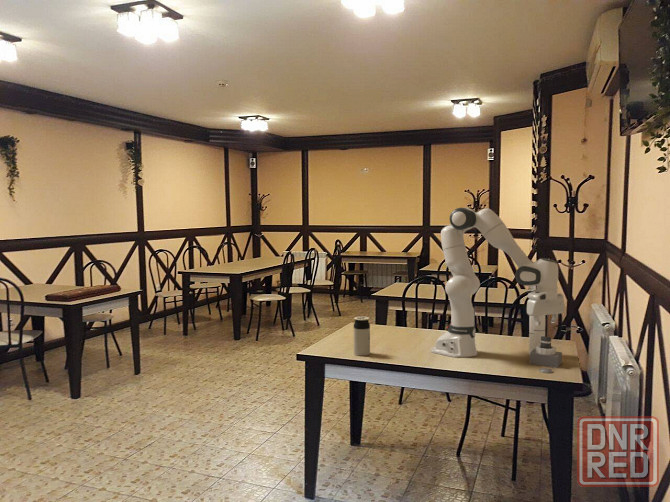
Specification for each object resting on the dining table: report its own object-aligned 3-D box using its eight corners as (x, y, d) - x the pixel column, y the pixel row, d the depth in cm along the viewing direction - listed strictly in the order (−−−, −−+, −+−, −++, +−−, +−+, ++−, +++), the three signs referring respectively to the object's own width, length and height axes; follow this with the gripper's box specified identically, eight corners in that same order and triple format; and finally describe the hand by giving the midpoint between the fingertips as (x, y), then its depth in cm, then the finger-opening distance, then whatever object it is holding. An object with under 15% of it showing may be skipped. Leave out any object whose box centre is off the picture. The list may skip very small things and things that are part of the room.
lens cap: (538, 372, 220) (538, 370, 220) (541, 369, 225) (541, 367, 225) (550, 374, 218) (550, 372, 218) (553, 371, 222) (553, 369, 222)
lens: (546, 354, 230) (546, 339, 230) (538, 351, 234) (538, 336, 234) (553, 353, 232) (553, 337, 232) (545, 350, 236) (545, 335, 236)
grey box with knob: (529, 363, 233) (529, 347, 233) (534, 359, 241) (534, 343, 240) (557, 367, 226) (557, 351, 226) (561, 363, 234) (562, 346, 233)
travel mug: (351, 355, 250) (351, 318, 249) (356, 351, 258) (356, 316, 257) (367, 356, 247) (367, 319, 246) (371, 352, 255) (371, 316, 254)
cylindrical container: (543, 357, 243) (544, 305, 242) (527, 355, 247) (528, 304, 245) (545, 354, 249) (546, 303, 248) (530, 352, 253) (531, 302, 252)
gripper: (557, 292, 239) (556, 321, 240) (524, 294, 230) (523, 324, 231) (568, 294, 233) (567, 323, 234) (535, 296, 224) (534, 327, 225)
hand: (545, 324), depth 233 cm, fingers open, 8 cm apart
